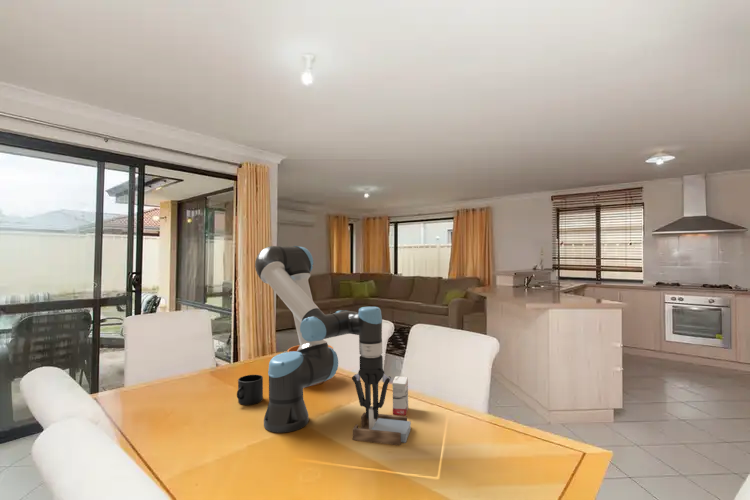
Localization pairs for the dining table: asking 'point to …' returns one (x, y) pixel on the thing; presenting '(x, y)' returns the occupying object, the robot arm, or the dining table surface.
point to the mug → (250, 389)
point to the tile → (394, 427)
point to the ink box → (400, 395)
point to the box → (377, 431)
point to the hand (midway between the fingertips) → (372, 428)
